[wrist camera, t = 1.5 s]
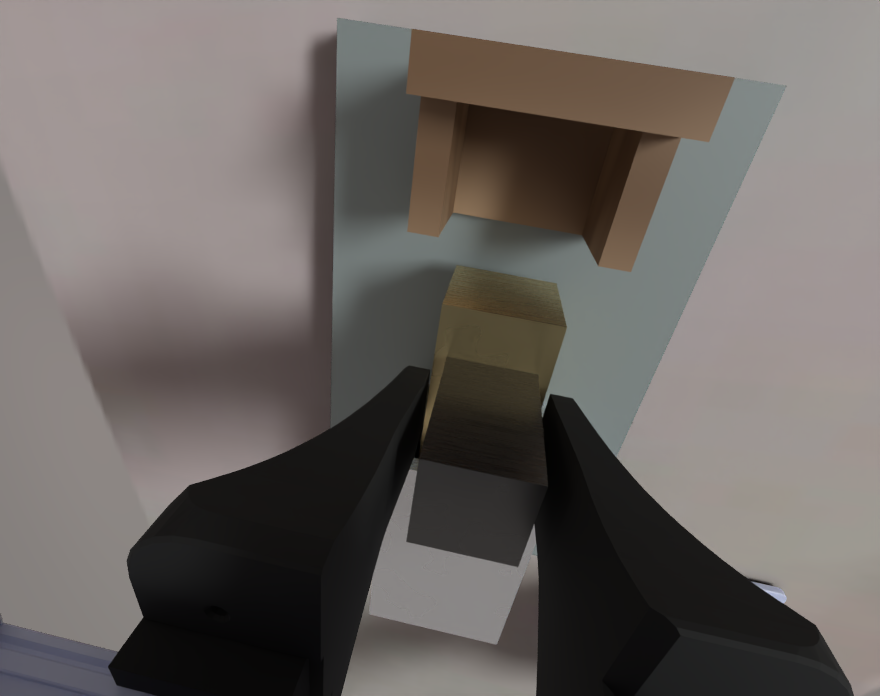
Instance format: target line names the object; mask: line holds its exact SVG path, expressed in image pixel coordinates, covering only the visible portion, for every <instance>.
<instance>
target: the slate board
mask: <svg viewBox="0 0 880 696" xmlns="http://www.w3.org/2000/svg"><path fill="white" fill-rule="evenodd" d="M411 31H412V29H408V28H401V27H395V26H388V25H381V24H375V23H368V22H362V21H355V20H348V19H342V18H337V67H336V126H335V185H334V244H333V303H332V362H331V421H330V428H332V427H333V426H335V425H337V424H338V423H340V422H341V421H343V420H344V419H346V418H347V417H348V416H350V415H351V414H352V413H354V412H355V411H356V410H358V409H359V408H360V407H362V406H363V405H365V404H366V403H367V402H368V401H370V400H371V399H372V398H373V397H374V396H375V395H377V394H378V393H379V392H380V391H381V390H382V389H384V388H385V387H386V386H387V385H388V384H389V383H390V382H391V381H392V380H393V379H394V378H395V377H396V376H397V375H398V374H399V373H400V372H401V371H402V370H403V369H404V368H405V367H407V366H409V365H410V366H415V367H420V368H425V369H430V376H429V377H431V373H432V366H433V360H434V353H435V347H436V340H437V334H438V327H439V321H440V314H441V308H442V303H443V300H444V298H445V295H446V292H447V289H448V287H449V284H450V281H451V279H452V276H453V273H454V271H455V268H456V265H460V266H465V267H471V268H476V269H482V270H487V271H493V272H498V273H503V274H509V275H514V276H520V277H525V278H531V279H536V280H541V281H547V282H552V283H557V287H558V291H559V295H560V300H561V304H562V308H563V312H564V317H565V321H566V325H567V330H566V333H565V336H564V339H563V342H562V345H561V349H560V352H559V355H558V358H557V361H556V364H555V367H554V370H553V374H552V377H551V380H550V383H549V386H548V389H547V392H546V396H545V399H544V402H543V404H544V411H545V408H546V405H547V402H548V399H549V396H550V394H554V395H559V396H564V397H569V398H573V399H574V400H575V402H576V403H577V405H578V406H579V407H580V409H581V410H582V412H583V413H584V415H585V416H586V417H587V419H588V420H589V422H590V423H591V424H592V426H593V427H594V429H595V430H596V431H597V433H598V434H599V436H600V437H601V438H602V440H603V441H604V442H605V444H606V445H607V446H608V448H609V449H610V450H611V451H612V453H613V454H614V455H615V456H617V454H618V452H619V450H620V448H621V445H622V443H623V441H624V439H625V437H626V435H627V432H628V430H629V428H630V426H631V424H632V421H633V419H634V417H635V415H636V413H637V411H638V408H639V406H640V404H641V402H642V400H643V397H644V395H645V393H646V391H647V389H648V387H649V384H650V382H651V380H652V378H653V376H654V374H655V371H656V369H657V367H658V365H659V363H660V360H661V358H662V356H663V354H664V352H665V350H666V347H667V345H668V343H669V341H670V339H671V336H672V334H673V332H674V330H675V328H676V326H677V323H678V321H679V319H680V317H681V315H682V313H683V310H684V308H685V306H686V304H687V302H688V299H689V297H690V295H691V293H692V291H693V289H694V286H695V284H696V282H697V280H698V278H699V275H700V273H701V271H702V269H703V267H704V265H705V262H706V260H707V258H708V256H709V254H710V251H711V249H712V247H713V245H714V243H715V241H716V238H717V236H718V234H719V232H720V230H721V228H722V225H723V223H724V221H725V219H726V217H727V214H728V212H729V210H730V208H731V206H732V204H733V201H734V199H735V197H736V195H737V193H738V190H739V188H740V186H741V184H742V182H743V180H744V177H745V175H746V173H747V171H748V169H749V167H750V164H751V162H752V160H753V158H754V156H755V153H756V151H757V149H758V147H759V145H760V143H761V140H762V138H763V136H764V134H765V132H766V129H767V127H768V125H769V123H770V121H771V119H772V116H773V114H774V112H775V110H776V108H777V105H778V103H779V101H780V99H781V97H782V95H783V92H784V90H785V88H786V85H779V84H772V83H766V82H759V81H752V80H746V79H739V78H735V79H734V82H733V84H732V87H731V89H730V92H729V94H728V97H727V99H726V102H725V104H724V106H723V109H722V111H721V114H720V116H719V119H718V121H717V124H716V126H715V129H714V131H713V134H712V136H711V139H710V141H709V142H704V141H698V140H692V139H685V138H681V140H680V143H679V145H678V148H677V151H676V153H675V156H674V159H673V161H672V164H671V167H670V169H669V172H668V175H667V177H666V180H665V183H664V185H663V188H662V191H661V194H660V196H659V199H658V202H657V204H656V207H655V210H654V212H653V215H652V218H651V220H650V223H649V226H648V228H647V231H646V234H645V236H644V239H643V242H642V244H641V247H640V250H639V252H638V255H637V258H636V260H635V263H634V266H633V268H632V271H631V272H627V271H621V270H616V269H610V268H605V267H599V266H598V265H597V263H596V261H595V259H594V257H593V256H592V254H591V252H590V250H589V248H588V246H587V244H586V242H585V240H584V238H583V236H582V235H578V234H572V233H566V232H561V231H555V230H549V229H544V228H538V227H532V226H527V225H521V224H515V223H510V222H504V221H498V220H493V219H487V218H481V217H476V216H470V215H464V214H459V213H452V215H451V217H450V218H449V220H448V222H447V224H446V225H445V227H444V229H443V230H442V232H441V234H440V235H439V237H433V236H428V235H422V234H417V233H411V232H407V229H408V219H409V209H410V199H411V189H412V179H413V169H414V159H415V150H416V140H417V130H418V120H419V110H420V100H421V96H418V95H411V94H406V89H407V77H408V66H409V54H410V42H411ZM532 555H536V556H537V546H536V545H535V547H534V550H533V552H532Z"/></svg>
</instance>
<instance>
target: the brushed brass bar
mask: <svg viewBox="0 0 880 696" xmlns="http://www.w3.org/2000/svg"><path fill="white" fill-rule="evenodd" d="M566 330H567V325H566V321H565V317H564V312H563V308H562V304H561V300H560V295H559V291H558V287H557V283H552V282H547V281H541V280H536V279H531V278H525V277H520V276H514V275H509V274H503V273H498V272H493V271H487V270H482V269H476V268H471V267H465V266H460V265H456V268H455V271H454V273H453V276H452V279H451V281H450V284H449V287H448V289H447V292H446V295H445V298H444V300H443V303H442V308H441V314H440V321H439V327H438V334H437V340H436V347H435V353H434V360H433V366H432V373H431V379H430V386H429V392H428V399H427V405H426V412H425V418H424V425H423V431H422V438H421V444H420V451H419V457H418V459H419V462H418V468H417V475H416V481H415V488H414V494H413V501H412V507H411V514H410V520H409V526H408V533H407V539H406V542H409V543H413V544H418V545H422V546H426V547H431V548H435V549H440V550H444V551H449V552H453V553H457V554H462V555H466V556H471V557H475V558H480V559H484V560H488V561H493V562H497V563H502V564H506V565H510V566H515V567H519V564H520V561H521V558H522V556H523V553H524V550H525V548H526V545H527V542H528V540H529V537H530V534H531V531H532V529H533V526H534V523H535V521H536V518H537V515H538V513H539V510H540V507H541V504H542V502H543V499H544V496H545V494H546V491H547V488H548V480H547V468H546V456H545V445H544V433H543V422H542V410H541V408H542V405H543V402H544V399H545V396H546V392H547V389H548V386H549V383H550V380H551V377H552V374H553V370H554V367H555V364H556V361H557V358H558V355H559V352H560V349H561V345H562V342H563V339H564V336H565V333H566Z"/></svg>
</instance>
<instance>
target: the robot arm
mask: <svg viewBox="0 0 880 696" xmlns="http://www.w3.org/2000/svg"><path fill="white" fill-rule="evenodd" d="M429 376H430V369H425V368H420V367H415V366H410V365H409V366H407V367H405V368H404V369H403V370H402V371H401V372H400V373H399V374H398V375H397V376H396V377H395V378H394V379H393V380H392V381H391V382H390V383H389V384H388V385H387V386H386V387H385V388H384V389H382V390H381V391H380V392H379V393H378V394H377V395H375V396H374V397H373V398H372V399H371V400H370V401H368V402H367V403H366V404H365V405H363V406H362V407H360V408H359V409H358V410H356V411H355V412H354V413H352V414H351V415H350V416H348V417H347V418H346V419H344V420H343V421H341V422H340V423H338V424H337V425H335V426H333V427H332V428H330V429H329V430H327V431H325V432H324V433H322V434H320V435H318V436H317V437H315V438H313V439H311V440H309V441H307V442H305V443H303V444H301V445H299V446H297V447H295V448H293V449H291V450H289V451H287V452H285V453H282V454H280V455H278V456H275V457H273V458H271V459H268V460H266V461H263V462H260V463H258V464H255V465H252V466H250V467H247V468H244V469H241V470H238V471H235V472H232V473H229V474H226V475H222V476H219V477H216V478H212V479H209V480H206V481H202V482H199V483H195V484H192V485H189V486H188V487H187V488H186V489H185V490H184V491H183V492H182V493H181V494H180V495H179V496H178V497H177V498H176V499H175V500H174V501H173V502H172V503H171V504H170V505H169V506H168V507H167V508H166V509H165V510H164V512H163V513H162V514H161V515H160V516H159V517H158V518H157V520H156V521H155V522H154V523H153V524H152V525H151V526H150V528H149V529H148V530H147V531H146V532H145V534H144V535H143V536H142V537H141V538H140V539H139V541H138V542H137V543H136V544H135V545H134V546H133V547H132V548H131V550H130V553H129V556H128V559H127V566H128V572H129V578H130V581H131V583H132V586H133V589H134V592H135V595H136V598H137V600H138V603H139V606H140V609H141V611H142V614H143V619H142V620H141V622H140V623H139V624H138V626H137V627H136V628H135V630H134V631H133V633H132V634H131V635H130V637H129V638H128V640H127V641H126V642H125V644H124V645H123V646H122V648H121V649H120V651H119V652H117V651H113V650H109V649H105V648H101V647H97V646H93V645H89V644H85V643H81V642H77V641H73V640H69V639H65V638H61V637H57V636H53V635H49V634H45V633H42V632H38V631H34V630H30V629H26V628H22V627H18V626H14V625H10V624H6V623H3V622H2V617H1V614H0V696H341V693H342V689H343V686H344V682H345V678H346V674H347V670H348V666H349V662H350V659H351V655H352V651H353V647H354V643H355V640H356V636H357V632H358V628H359V625H360V621H361V617H362V613H363V610H364V606H365V602H366V599H367V595H368V591H369V588H370V584H371V580H372V577H373V573H374V570H375V566H376V563H377V559H378V555H379V552H380V548H381V545H382V541H383V538H384V535H385V532H386V529H387V526H388V524H389V521H390V519H391V516H392V514H393V511H394V508H395V506H396V503H397V501H398V498H399V495H400V493H401V490H402V488H403V485H404V483H405V480H406V477H407V475H408V472H409V470H410V467H411V464H412V462H413V459H414V455H415V452H416V448H417V444H418V440H419V436H420V432H421V428H422V422H423V416H424V409H425V403H426V396H427V389H428V383H429ZM542 422H543V433H544V445H545V456H546V468H547V480H548V488H547V491H546V494H545V496H544V499H543V502H542V504H541V507H540V510H539V513H538V515H537V518H536V521H535V523H534V526H535V536H536V546H537V557H538V573H539V617H538V662H537V690H536V696H854V695H853V691H852V688H851V685H850V683H849V681H848V679H847V678H846V676H845V674H844V673H843V671H842V669H841V667H840V666H839V664H838V662H837V660H836V659H835V657H834V655H833V654H832V652H831V650H830V648H829V647H828V645H827V643H826V642H825V640H824V638H823V636H822V635H821V633H820V632H819V630H818V628H817V627H816V625H814V624H813V623H811V622H810V621H808V620H807V619H805V618H804V617H802V616H801V615H799V614H798V613H797V612H795V611H794V610H792V609H791V608H789V607H788V606H786V605H785V604H784V602H785V601H786V599H787V598H786V595H785V594H784V592H783V590H782V589H780V588H778V587H774V586H770V585H765V584H761V583H756V582H752V581H750V580H748V579H747V578H746V577H744V576H743V575H742V574H740V573H739V572H738V571H736V570H735V569H734V568H732V567H731V566H730V565H728V564H727V563H726V562H724V561H723V560H722V559H721V558H719V557H718V556H717V555H716V554H714V553H713V552H712V551H711V550H709V549H708V548H707V547H706V546H704V545H703V544H702V543H701V542H700V541H699V540H697V539H696V538H695V537H694V536H693V535H692V534H691V533H689V532H688V531H687V530H686V529H685V528H684V527H682V526H681V525H680V524H679V523H678V522H677V521H676V520H675V519H674V518H673V517H671V516H670V515H669V514H668V513H667V512H666V511H665V510H664V509H663V508H662V507H661V506H660V505H659V504H658V503H657V502H656V501H655V500H654V499H653V498H652V497H651V496H650V495H649V494H648V493H647V492H646V491H645V490H644V489H643V488H642V487H641V486H640V484H639V483H638V482H637V481H636V480H635V479H634V478H633V477H632V475H631V474H630V473H629V472H628V471H627V470H626V468H625V467H624V466H623V465H622V464H621V463H620V461H619V460H618V459H617V458H616V456H615V455H614V454H613V453H612V451H611V450H610V449H609V448H608V446H607V445H606V444H605V442H604V441H603V440H602V438H601V437H600V436H599V434H598V433H597V431H596V430H595V429H594V427H593V426H592V424H591V423H590V422H589V420H588V419H587V417H586V416H585V415H584V413H583V412H582V410H581V409H580V407H579V406H578V405H577V403H576V402H575V400H574V399H573V398H569V397H564V396H559V395H554V394H550V396H549V399H548V402H547V405H546V408H545V411H544V414H543V417H542Z"/></svg>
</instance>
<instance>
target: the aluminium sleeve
mask: <svg viewBox="0 0 880 696" xmlns="http://www.w3.org/2000/svg"><path fill="white" fill-rule="evenodd" d="M430 379H431V377H429V383H428V389H427V396H426V403H425V409H424V416H423V422H422V428H421V432H420V436H419V440H418V444H417V448H416V452H415V455H414V459H413V462H412V464H411V467H410V470H409V472H408V475H407V477H406V480H405V483H404V485H403V488H402V490H401V493H400V495H399V498H398V501H397V503H396V506H395V508H394V511H393V514H392V516H391V519H390V521H389V524H388V526H387V529H386V532H385V535H384V538H383V541H382V545H381V548H380V552H379V555H378V559H377V563H376V566H375V570H374V573H373V579H372V589H371V598H370V608H369V615H374V616H378V617H382V618H386V619H390V620H395V621H399V622H403V623H407V624H412V625H416V626H420V627H424V628H428V629H433V630H437V631H441V632H445V633H449V634H454V635H458V636H462V637H466V638H470V639H475V640H479V641H483V642H487V643H491V644H496V645H497V643H498V640H499V638H500V635H501V633H502V630H503V627H504V625H505V622H506V620H507V617H508V614H509V612H510V609H511V607H512V604H513V601H514V599H515V596H516V594H517V591H518V589H519V586H520V583H521V581H522V578H523V576H524V573H525V570H526V568H527V565H528V563H529V560H530V558H531V555H532V552H533V550H534V547H535V545H536V536H535V526H533V529H532V531H531V534H530V537H529V540H528V542H527V545H526V548H525V550H524V553H523V556H522V558H521V561H520V564H519V567H515V566H510V565H506V564H502V563H497V562H493V561H488V560H484V559H480V558H475V557H471V556H466V555H462V554H457V553H453V552H449V551H444V550H440V549H435V548H431V547H426V546H422V545H418V544H413V543H409V542H406V539H407V533H408V526H409V520H410V514H411V507H412V501H413V494H414V488H415V481H416V475H417V468H418V462H419V459H418V457H419V451H420V444H421V438H422V431H423V425H424V418H425V412H426V405H427V399H428V392H429V386H430ZM541 410H542V417H543V414H544V404H543V405H542V408H541Z"/></svg>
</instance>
